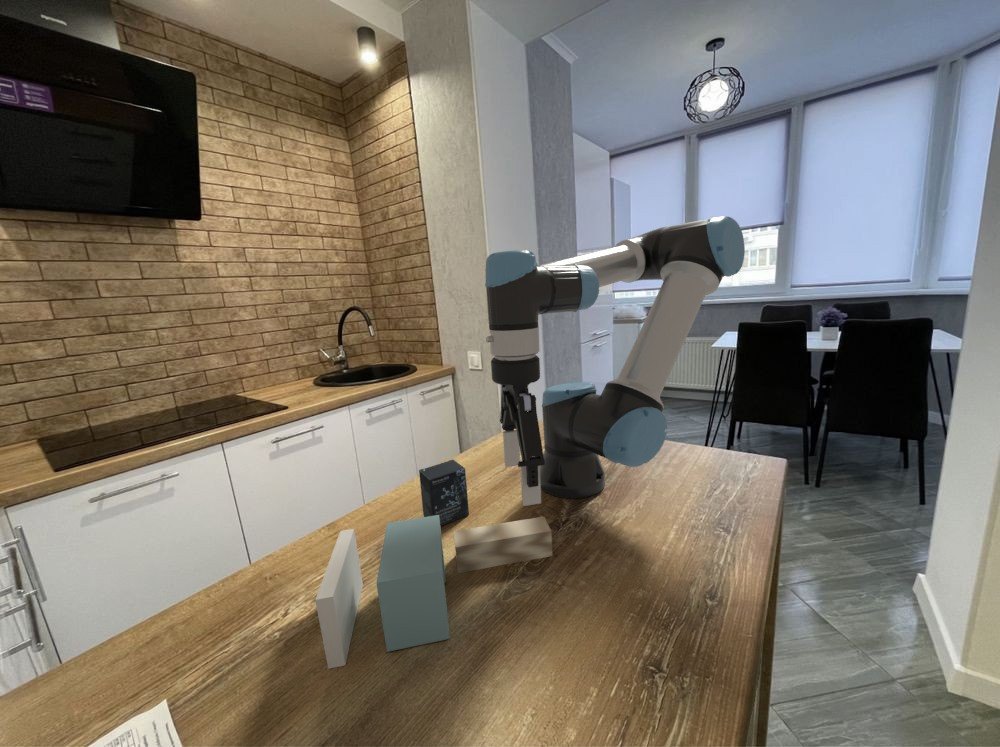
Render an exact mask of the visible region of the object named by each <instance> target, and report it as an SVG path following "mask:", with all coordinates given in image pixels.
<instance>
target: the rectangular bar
mask: <svg viewBox="0 0 1000 747" xmlns="http://www.w3.org/2000/svg"><path fill="white" fill-rule="evenodd" d="M552 535H553V534H552V529H551V528H550V525H549V524H548V522H547V520H546V518H545V516H538V517H533V518H527V519H526V518H525V519H520V520H514V521H507V522H502V523H501V522H500V523H495V524H490V525H489V524H488V525H484V526H477V527H470V528H465V529H459V530H454V531H453V540H454V550H455V560H456V569H457V574H460V573H465V572H467V573H468V572H470V571H477V570H482V569H488V568H492V567H499V566H505V565H510V564H514V563H516V564H517V563H521V562H527V561H531V560H533V561H534V560H538V559H543V558H544V559H545V558H547V557H553V538H552Z"/></svg>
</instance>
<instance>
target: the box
mask: <svg viewBox="0 0 1000 747" xmlns="http://www.w3.org/2000/svg"><path fill="white" fill-rule="evenodd" d="M418 474H419V484H420V485H419V486H420V492H421V493H420V494H421V503H422V512H423V517H428V516H435V515H439V518H440V527H442V526H444V525H446V524H449V523H452V522H454V521H457V520H459V519H462V518H464V517H468V516H469V515H470V512H469V499H468V497H469V496H468V486H467V475H466V468H465V467H464V466H462V465H461V464H460V463H458V462H457V461H456V460H455V459H449V460H447V461H444V462H440V463H438V464H434V465H433V466H432V465H431V466H428V467H426V468H421V469H419V470H418Z"/></svg>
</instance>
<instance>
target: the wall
mask: <svg viewBox="0 0 1000 747" xmlns="http://www.w3.org/2000/svg"><path fill="white" fill-rule="evenodd" d="M355 532H356V531H355V528H350V529H344V530H340V531H339V534H338V537H337V539H336V542H335V545H334V547H333V551H332V553H331V556H330V559H329V561H328V564H327V567H326V570H325V571H324V572H325V573H324V575H323V577H322V581H321V583H320V585H319V589H318V591H317V594H316V598H315V600H314V601H315V606H316V611H317V615H318V616H317V617H318V622H319V627H320V632H321V636H322V642H323V648H324V654H325V658H326V663H327V664H326V665H327V669H328V670H330V669H331V670H332V669H334V668H340V667H344V666H346V663H347V659H348V655H349V649H350V645H351V641H352V637H353V632H354V627H355V623H356V619H357V613H358V609H359V605H360V601H361V596H362V595H361V594H362V593H363V592H362V591H363V587H364V583H363V576H362V570H361V569H362V568H361V564H360V557H359V551H358V545H357V539H356V533H355Z"/></svg>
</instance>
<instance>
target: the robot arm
mask: <svg viewBox="0 0 1000 747" xmlns="http://www.w3.org/2000/svg"><path fill="white" fill-rule="evenodd" d="M745 248H746V246H745V239H744V235H743V231H742V228H741V226H740V224H739V223H738V222H737V221H736V220H735V219H734V218H733V217H730V216H726V215H725V216H724V215H723V216H716V217H714V216H710V217H708V218H706V219H702V220H695V221H691V222H684V223H680V224H672V225H667V226H662V227H659V228H656V229H653V230H650V231H648V232H645V233H642V234H640V235H636V236H633V237H631V238H628V239H623V240H621V241H619V242H617V243H616V245H614V247H609V248H605V249H601V250H597V251H592V252H588V253H585V254H581V255H576V256H572V257H568V258H564V259H559V260H556V261H555V260H554V261H550V262H546V263H543V264H539V265H538V263H537V258H536V254H535V252H534V251H531V250H526V249H524V250H522V249H521V250H505V251H503V250H502V251H497V252H492V253H490V254H489V255H488V256H487V258H486V260H485V284H484V287H485V288H486V302H487V317H488V328H489V334H490V335H489V336H486V338H485V342H486V343H490V345H489V347H490V355H492V356H493V357H492V359H491V361H490V364H491V365H490V367H491V369H490V370H491V380H492V381H493V383H495V384H497V385H501V386H500V388H501V393H500V394H501V396H500V415H499V416H500V419H499V422H500V424H502V425H501V429H502V436H503V437H502V438H503V456H504V458H503V459H504V467H505V468H508V467H516V466H517V467H518V468H520V481H521V483H520V484H521V501H522V505H523V507H526V506H531V505H532V506H533V505H540V504H542V491H544V492H545V493H547V494H549V495H552V496H555V497H558V498H564V499H583V498H589V497H591V496H594V495H596V494H598V493H601V491H602V490H604V488H605V486H606V476H605V475H606V474H605V471H604V468H603V465H602V462H601V459H600V457H602V458H604V459H607V460H608V461H610V462H611V463H613V464H619V465H622V466H625V467H629V468H636V467H637V468H638V467H641V466H643V465H644V464H647V463H649V462H650V461H651V460H653V459H654V458H655V457H656V456H657V455H658V453H659V452H660V450H661V449H662V448H663V446H664V443H665V440H666V437H667V431H666V429H668V421H667V418H666V416H665V414H664V413H663V411H664V408H665V405H664V403H663V401H662V399H661V395H662V392H663V390H664V387H665V386H666V383H667V381H668V379H669V377H670V375H671V372H672V371H673V368H674V366H675V364H676V361H677V359H678V357H679V355H680V352H681V350H682V349H683V345H684V344H685V341H686V339H687V337H688V335H689V333H690V330H691V328H692V326H693V324H694V323H695V319H696V318H697V315H698V313H699V310H700V309H701V306H702V303H703V302H704V300H705V297H706V296H707V295H712V294H714V293H715V292H716V291H717V290H718V288H719V287H720V284H721V282H722V280H723V278H724V277H727V278H728V277H729V278H730V277H732V276H735V275H736V274H738V273H739V272H740V271H741V269H742V268H743V264H744V261H745V253H746V252H745ZM652 280H653V281H654V280H655V281H659V280H660V281H661V280H662V281H663V282H662V284H661V286H660V288H659V291H658V293H657V295H656V296H655V299H654V301H653V304H652V306H651V307H650V309H649V312H648V314H647V315H646V318H645V320H644V322H643V323H642V326H641V328H640V329H639V330H640V331H639V332H638V334H637V336H636V339H635V341H634V343H633V345H632V347H631V350H630V352H629V354H628V356H627V358H626V360H625V362H624V364H623V366H622V369H621V371H620V372H619V374H618V377H617V378H616V379H613V380H609V381H607V382H606V383H605V385H604V388H603V390H602V392H601V394H597V388H596V385H595V384H594V383H593V382H587V381H586V382H585V381H584V382H583V381H582V382H581V381H580V382H567V383H561V384H556V385H552V386H549V387H547V388H546V389H545V390H544V391H543V393H542V402H541V403H542V404H541V408H542V411H541V412H542V425H543V426H542V427H543V444H544V451H543V446H542V438H541V433H540V432H541V431H540V426H539V419H538V412H537V398H536V396H535V394H532V393H531V392H530V391H529V385H530V384H532V383H535V382H537V381H539V379H540V378H541V364H540V357H539V356H538V355H537V354H538V353H540V352H541V351H540V334H539V333H540V328H539V315H544V314H557V313H558V314H559V313H570V312H572V313H576V312H579V311H583V310H588V309H589V308H591V307H592V306H593V305H595V303H596V301H597V299H598V297H599V294H600V288H601V287H605V286H609V285H611V284H615V283H618V282H622V283H626V284H630V283H634V282H638V281H652ZM599 456H600V457H599Z"/></svg>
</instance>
